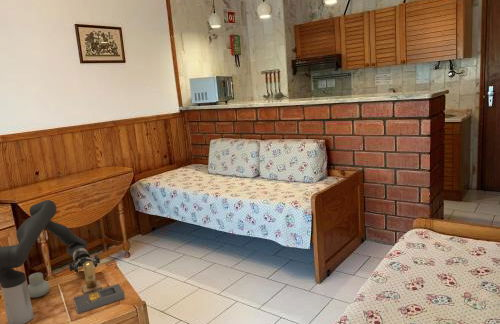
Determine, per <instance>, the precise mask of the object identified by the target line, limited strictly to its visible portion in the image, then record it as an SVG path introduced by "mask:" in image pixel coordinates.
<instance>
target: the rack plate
mask: <svg viewBox="0 0 500 324" xmlns="http://www.w3.org/2000/svg"><path fill="white" fill-rule="evenodd" d="M125 298H126V295H125V291H124V290H123V288H122V286H121V285H120V283H116V284H114V285H113V284H112V285H109V286H107V287H104V288H103V287H102V289H100V290H97V291H94V292H90V293H87V294H84V293H83V294H81V295H77V296H74V297H73V302H74V305H75V308H76V312H77V314H78V315H80V314H83V313H86V312H88V311H91V310H95V309H97V308H99V307H103V306H106V305H109V304H111V303H115V302H117V301H121V300H124V299H125Z"/></svg>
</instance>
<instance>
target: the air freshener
mask: <svg viewBox="0 0 500 324" xmlns="http://www.w3.org/2000/svg"><path fill="white" fill-rule="evenodd" d="M28 281H29V284H27V286H28V290H29V295H30V298H40V297H42V296H45V295H46V294H47V293H48V292H49V291H50V290H51V287H50V283H49V281H47V280H45V279H44V275H43V273H42V272H39V271H38V272H34V273H31V274H30V275H29V276H28Z"/></svg>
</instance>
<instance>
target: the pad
mask: <svg viewBox="0 0 500 324" xmlns="http://www.w3.org/2000/svg"><path fill="white" fill-rule="evenodd" d="M96 285H97V286H96V287H94V288H91V289H88V288H87V286H86V283H85V284H83V285H81V291H82V293H83V295H84V294H87V293H90V292H94V291H97V290H100V289H103V286H102V284H101V282H100V280H96Z"/></svg>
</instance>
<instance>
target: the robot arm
mask: <svg viewBox="0 0 500 324" xmlns="http://www.w3.org/2000/svg"><path fill="white" fill-rule="evenodd" d="M29 214H30V217H28V218H27V219H25V220H24V221H23V223H21V225H20V226H19V227H18V228H17V230H16V238H17V241H18V242H19V243H17V244H14V245H5V246H0V287H1V293H2V298H3V302H4V309H5V313H6V314H5V315H6V318H7V323H8V324H27V323H29V322H30V321H31V320H33V319H34V316H35V315H34V310H33V306H32V300H31V297H30V295H29V290H28V282H27V277H26V273H24V272H23V271H20V270H17V269H16V268H21V267H22V266H23V265H24V264H25V262H26V260H27V258H28V256H29V254H30V252H31V249H32V248H33V246H34V244H35V243H36V241H37V240H38V238H39V237H40V236H41V234H42V232H43V230H44V229H46V230H47V231H49V232H50V233H51V234H52V235H55V237H57V239H59V241H60V242H61V243H62V244H63V245H65V246H67V247H66V253H67V254H68V255H69V256H70V257H72V258H73V259H72V260H73V261H74V262H71V261H70V262H68V267H69V271H70V272H73V271H74V272H75V273H79V269H81V268H83V263H84V262H87V261H93V266H94V268H97V267H98V264H101V261H100V257H99V256H98V255H97V254H96V255H94V257H93V256H92V257H91V256H90V254H89V252H88V250H86V249H87V247H88V244H87V241H86V240H84V238H81V237H79V236H77V235H76V234H74V232H73V231H71V230H70V228H69V227H67V225H64V224H62V223H58V222H56V221H53V220H52V219H53V218H54V217H55V216H56V214H57V205H56V203H55V202H54V201H53V200H50V199H46V200H43V201H41V202H37V203H35V204H33V205H31V206H30V207H29Z"/></svg>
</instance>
